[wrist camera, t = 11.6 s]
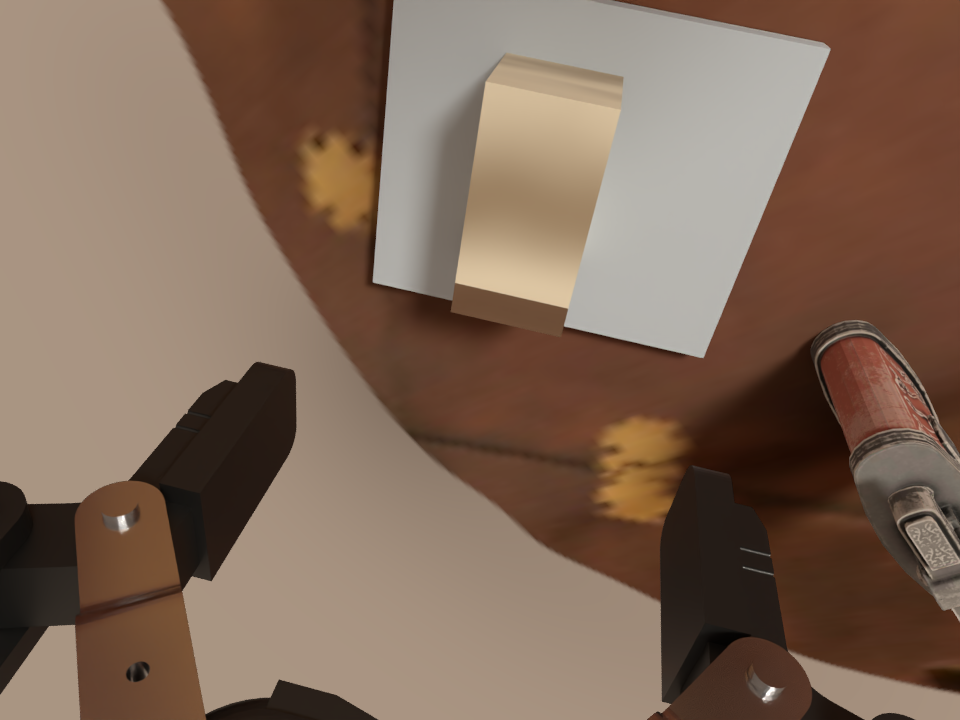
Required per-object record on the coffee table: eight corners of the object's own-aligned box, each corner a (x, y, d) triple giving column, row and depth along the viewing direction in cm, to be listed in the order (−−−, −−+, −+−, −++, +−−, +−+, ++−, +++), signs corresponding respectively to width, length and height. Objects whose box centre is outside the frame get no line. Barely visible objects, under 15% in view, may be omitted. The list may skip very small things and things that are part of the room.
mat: (824, 43, 23) (830, 49, 22) (701, 344, 30) (703, 358, 29) (404, -42, 24) (396, -38, 23) (379, 271, 31) (372, 282, 30)
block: (506, 52, 24) (485, 81, 21) (623, 76, 24) (620, 109, 21) (472, 261, 29) (450, 311, 26) (569, 283, 29) (560, 337, 25)
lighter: (956, 443, 31) (1069, 651, 23) (875, 472, 32) (953, 676, 24) (875, 304, 28) (971, 484, 20) (790, 344, 29) (848, 525, 21)
